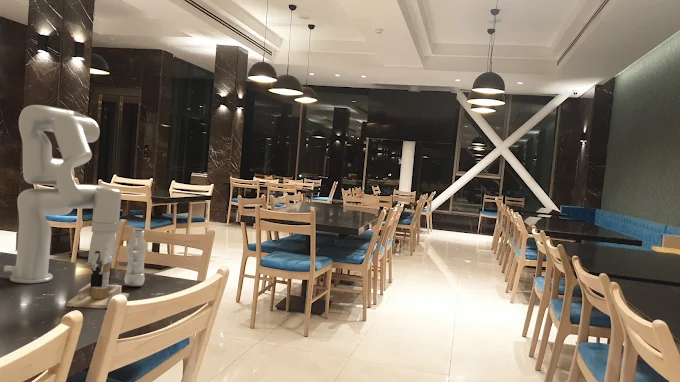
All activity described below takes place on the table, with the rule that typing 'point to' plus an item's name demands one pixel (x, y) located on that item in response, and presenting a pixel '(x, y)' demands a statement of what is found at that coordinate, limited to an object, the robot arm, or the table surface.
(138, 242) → the plastic bottle
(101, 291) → the sprinkles bottle
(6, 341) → the table surface
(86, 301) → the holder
